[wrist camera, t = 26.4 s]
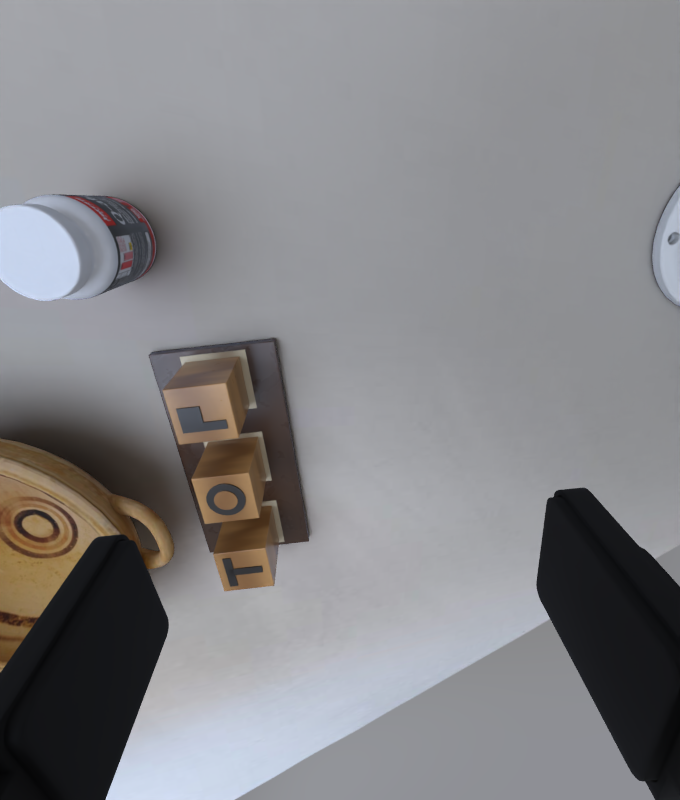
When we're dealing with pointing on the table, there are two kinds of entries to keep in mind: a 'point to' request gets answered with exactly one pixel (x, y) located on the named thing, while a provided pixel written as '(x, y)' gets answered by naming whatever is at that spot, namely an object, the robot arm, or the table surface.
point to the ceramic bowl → (55, 532)
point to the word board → (249, 430)
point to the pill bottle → (73, 246)
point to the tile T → (248, 552)
